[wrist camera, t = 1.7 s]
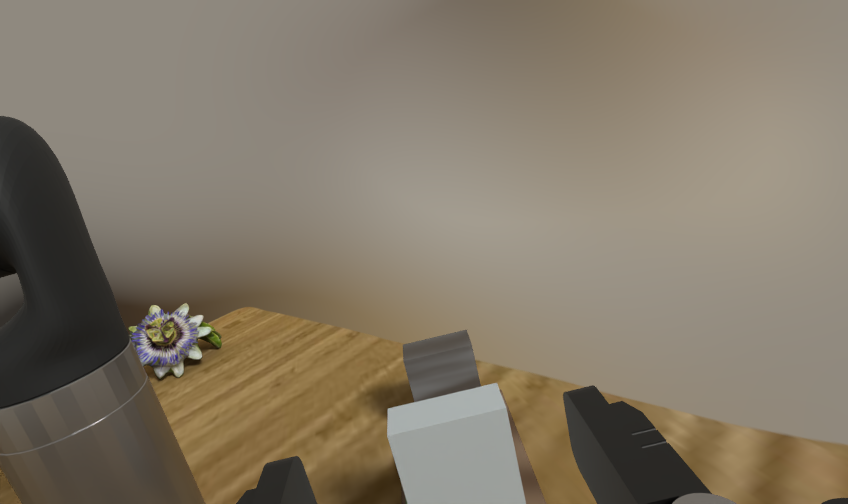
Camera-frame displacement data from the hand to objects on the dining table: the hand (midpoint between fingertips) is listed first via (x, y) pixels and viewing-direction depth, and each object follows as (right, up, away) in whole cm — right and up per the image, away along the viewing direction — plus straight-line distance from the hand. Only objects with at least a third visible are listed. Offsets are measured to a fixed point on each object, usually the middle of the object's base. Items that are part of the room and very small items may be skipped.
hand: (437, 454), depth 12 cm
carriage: (+2, -13, +20) cm, 24 cm away
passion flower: (-37, -12, +60) cm, 71 cm away
